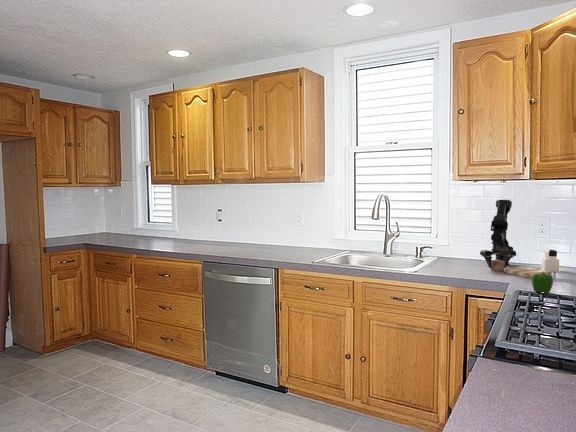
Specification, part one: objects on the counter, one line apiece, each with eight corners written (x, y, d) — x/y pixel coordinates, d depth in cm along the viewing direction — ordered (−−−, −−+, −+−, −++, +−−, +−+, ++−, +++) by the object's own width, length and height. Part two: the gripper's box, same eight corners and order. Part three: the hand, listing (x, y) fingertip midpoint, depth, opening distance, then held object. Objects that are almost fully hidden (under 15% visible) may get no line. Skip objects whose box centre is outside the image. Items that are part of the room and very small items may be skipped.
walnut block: (490, 270, 247) (490, 260, 247) (496, 269, 249) (496, 259, 249) (498, 272, 243) (498, 261, 242) (504, 271, 245) (504, 260, 244)
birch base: (505, 272, 241) (505, 268, 241) (524, 269, 248) (524, 266, 248) (532, 278, 227) (532, 274, 227) (551, 275, 234) (551, 271, 234)
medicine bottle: (554, 269, 249) (555, 249, 248) (558, 272, 242) (560, 251, 241) (540, 269, 251) (541, 248, 250) (544, 271, 244) (545, 250, 243)
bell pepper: (534, 289, 204) (535, 268, 203) (554, 292, 198) (555, 270, 197) (528, 292, 198) (529, 270, 197) (549, 295, 192) (550, 273, 191)
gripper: (491, 243, 236) (490, 271, 237) (523, 242, 238) (521, 270, 239) (479, 240, 247) (478, 267, 248) (510, 239, 249) (509, 266, 250)
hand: (497, 268), depth 246 cm, fingers open, 9 cm apart
